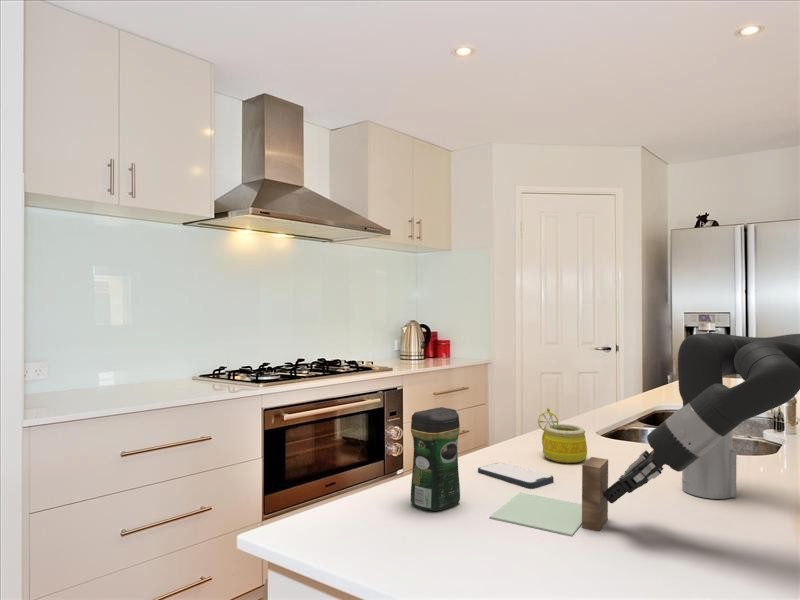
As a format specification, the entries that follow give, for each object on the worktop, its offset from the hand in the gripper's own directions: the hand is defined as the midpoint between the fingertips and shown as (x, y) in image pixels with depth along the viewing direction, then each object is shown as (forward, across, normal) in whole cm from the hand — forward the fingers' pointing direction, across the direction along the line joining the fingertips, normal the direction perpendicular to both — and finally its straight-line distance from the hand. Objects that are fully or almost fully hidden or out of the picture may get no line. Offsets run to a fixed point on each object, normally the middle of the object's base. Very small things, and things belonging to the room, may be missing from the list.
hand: (607, 498), depth 103 cm
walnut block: (+5, 0, -2) cm, 6 cm away
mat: (+12, +1, +5) cm, 13 cm away
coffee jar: (+26, -6, +18) cm, 32 cm away
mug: (+17, +41, +10) cm, 46 cm away
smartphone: (+21, +20, +13) cm, 32 cm away
